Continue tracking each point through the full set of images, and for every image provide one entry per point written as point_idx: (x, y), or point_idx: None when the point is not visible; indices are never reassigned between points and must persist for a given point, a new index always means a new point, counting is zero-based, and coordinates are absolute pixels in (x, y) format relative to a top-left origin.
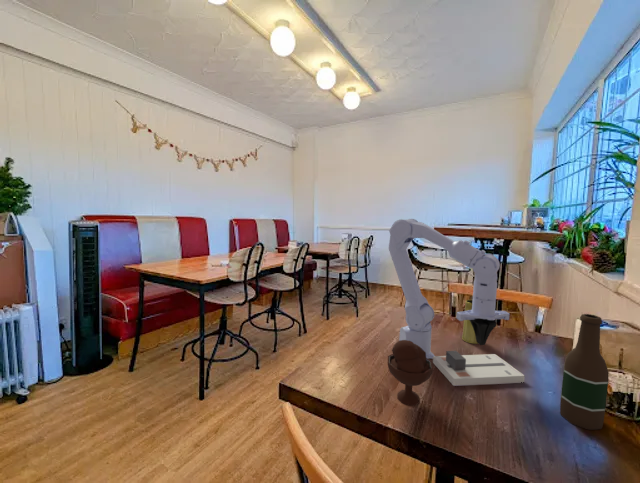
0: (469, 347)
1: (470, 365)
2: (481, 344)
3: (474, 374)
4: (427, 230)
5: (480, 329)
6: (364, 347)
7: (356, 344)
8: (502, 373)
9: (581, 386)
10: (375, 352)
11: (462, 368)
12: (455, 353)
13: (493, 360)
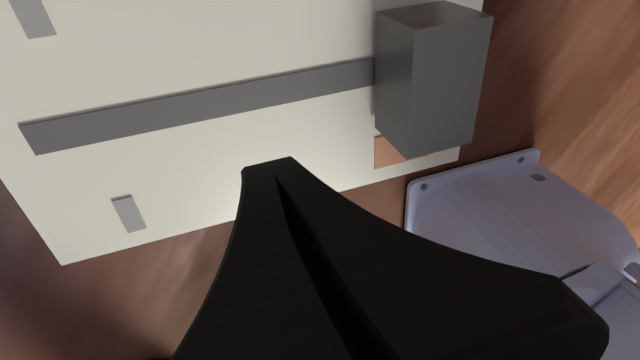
0: (183, 323)
1: (303, 84)
2: (287, 159)
3: None
4: None
5: (457, 251)
6: (615, 207)
7: (625, 221)
8: None
9: None
10: (605, 180)
11: (399, 9)
12: (436, 116)
13: (102, 181)
